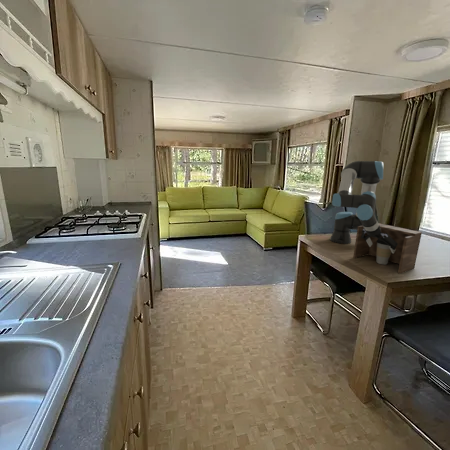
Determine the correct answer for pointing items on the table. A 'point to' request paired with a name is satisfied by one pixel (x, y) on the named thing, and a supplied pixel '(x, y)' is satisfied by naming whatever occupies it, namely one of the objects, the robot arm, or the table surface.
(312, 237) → the table surface
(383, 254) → the coffee cup
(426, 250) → the table surface
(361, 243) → the walnut box
